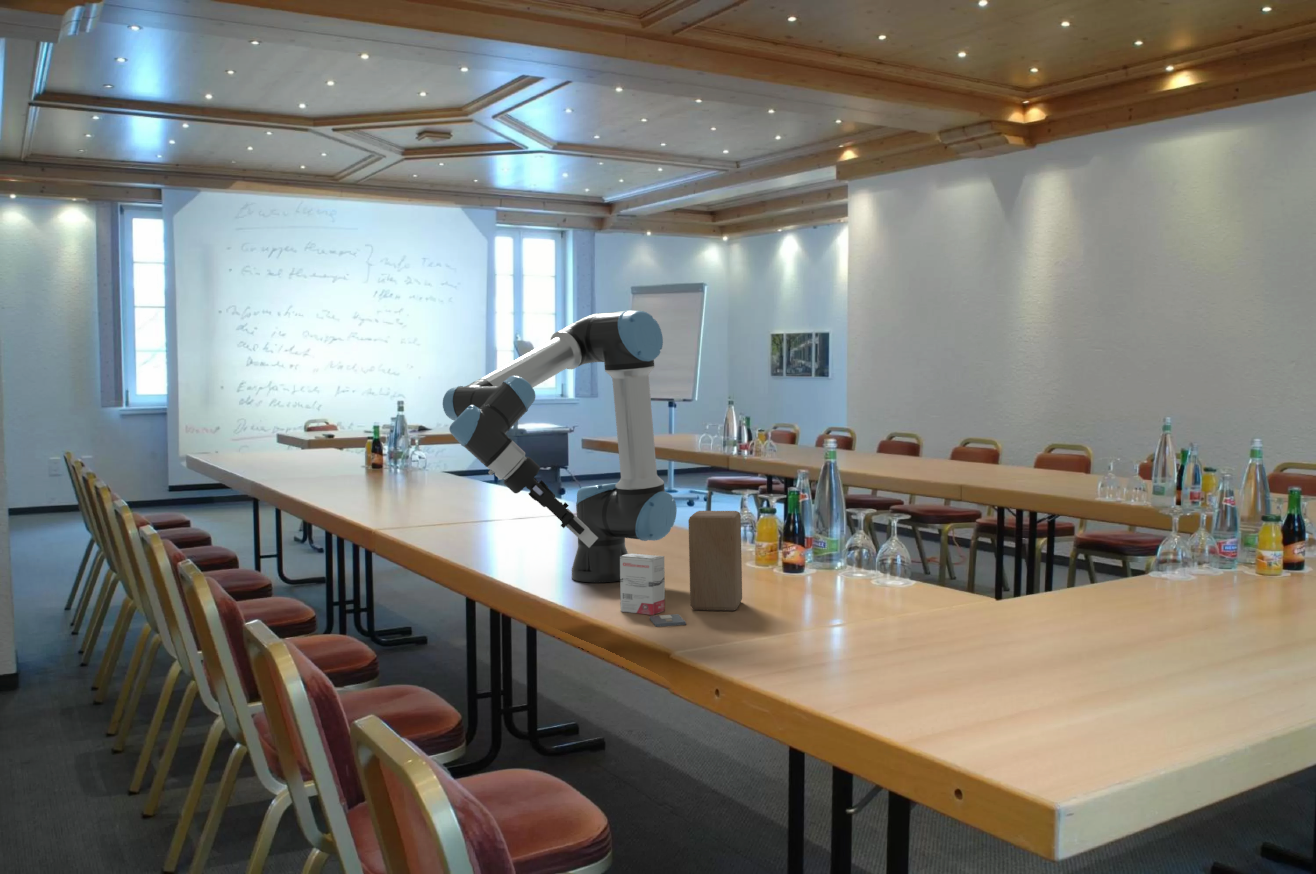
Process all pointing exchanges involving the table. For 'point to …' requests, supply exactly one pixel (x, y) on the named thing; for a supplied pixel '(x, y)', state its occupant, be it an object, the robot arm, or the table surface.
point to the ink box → (642, 584)
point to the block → (715, 560)
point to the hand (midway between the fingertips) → (589, 538)
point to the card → (667, 620)
